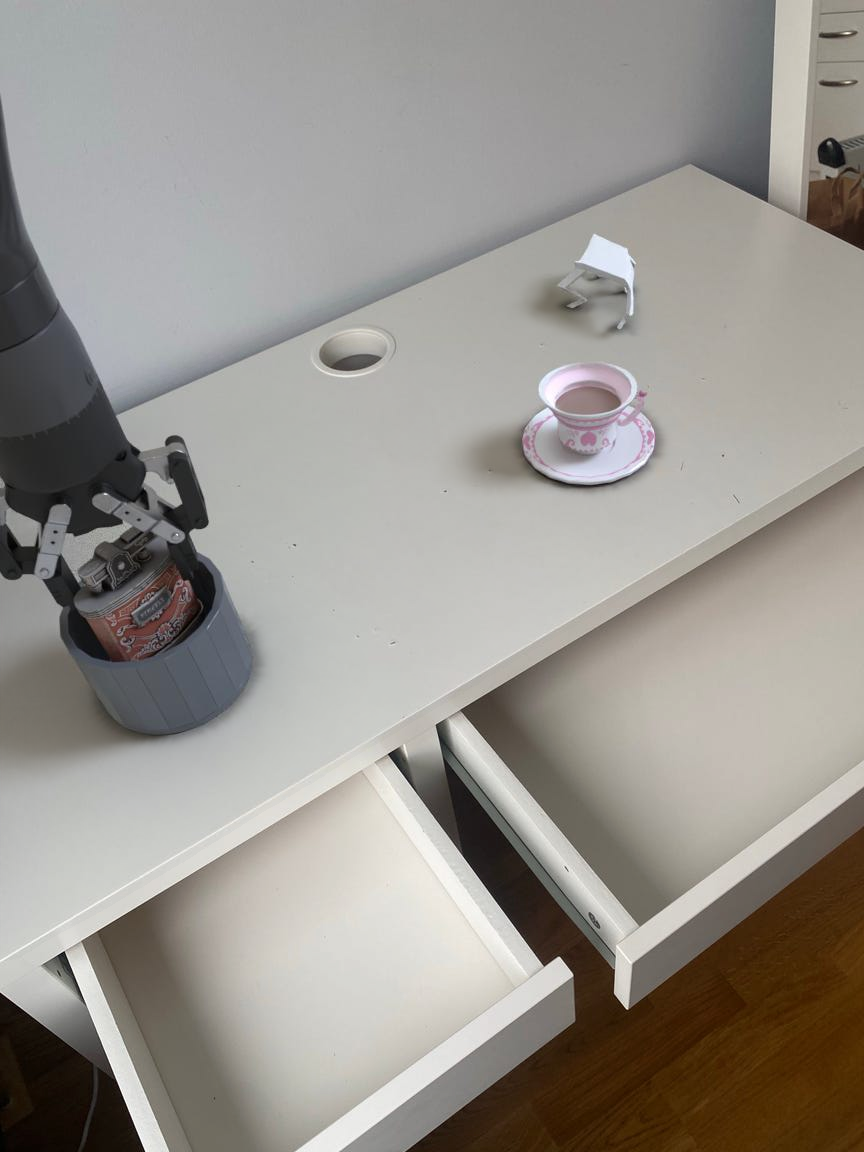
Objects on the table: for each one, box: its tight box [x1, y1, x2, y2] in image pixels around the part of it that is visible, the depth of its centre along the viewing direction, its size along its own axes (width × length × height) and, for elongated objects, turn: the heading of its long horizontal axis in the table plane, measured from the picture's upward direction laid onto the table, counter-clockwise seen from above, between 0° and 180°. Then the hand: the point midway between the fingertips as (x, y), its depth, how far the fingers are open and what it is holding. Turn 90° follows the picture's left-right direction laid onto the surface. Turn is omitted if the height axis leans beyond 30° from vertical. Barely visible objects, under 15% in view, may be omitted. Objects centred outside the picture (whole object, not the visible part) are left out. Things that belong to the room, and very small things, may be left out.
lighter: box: [74, 525, 206, 662], centre depth 68 cm, size 8×3×10 cm, turn 143°
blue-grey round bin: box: [58, 551, 253, 736], centre depth 72 cm, size 12×12×8 cm
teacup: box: [521, 361, 656, 486], centre depth 86 cm, size 12×12×6 cm
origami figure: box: [556, 233, 637, 330], centre depth 100 cm, size 12×8×5 cm
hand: (132, 587), depth 68 cm, fingers closed on lighter, 7 cm apart
